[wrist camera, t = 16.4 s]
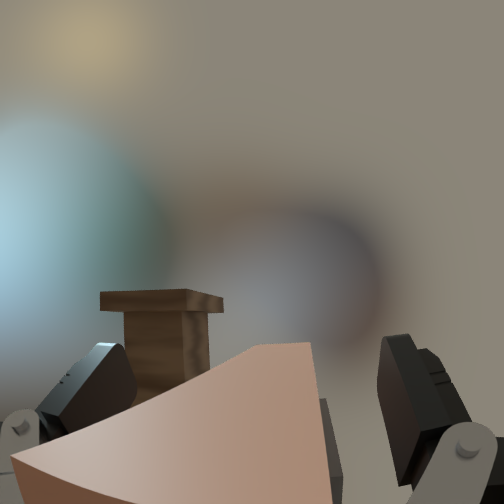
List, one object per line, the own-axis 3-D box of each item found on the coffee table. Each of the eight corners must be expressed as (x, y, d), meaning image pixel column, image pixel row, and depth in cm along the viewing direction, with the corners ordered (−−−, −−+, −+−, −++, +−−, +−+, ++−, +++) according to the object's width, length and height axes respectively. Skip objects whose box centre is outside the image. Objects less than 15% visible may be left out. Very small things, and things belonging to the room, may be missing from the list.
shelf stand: (208, 547, 24) (186, 288, 30) (129, 530, 25) (99, 291, 32) (234, 494, 37) (223, 297, 44) (171, 487, 39) (156, 300, 45)
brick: (311, 665, 1) (333, 519, 2) (84, 618, 2) (9, 454, 3) (311, 393, 23) (310, 342, 23) (258, 395, 23) (256, 344, 24)
